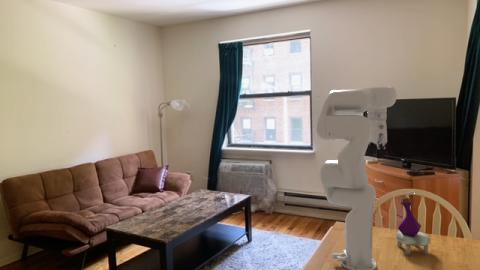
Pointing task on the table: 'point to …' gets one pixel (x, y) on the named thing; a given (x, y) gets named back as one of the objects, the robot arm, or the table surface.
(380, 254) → the table surface
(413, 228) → the perfume bottle
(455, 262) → the table surface
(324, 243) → the table surface
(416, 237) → the stool
